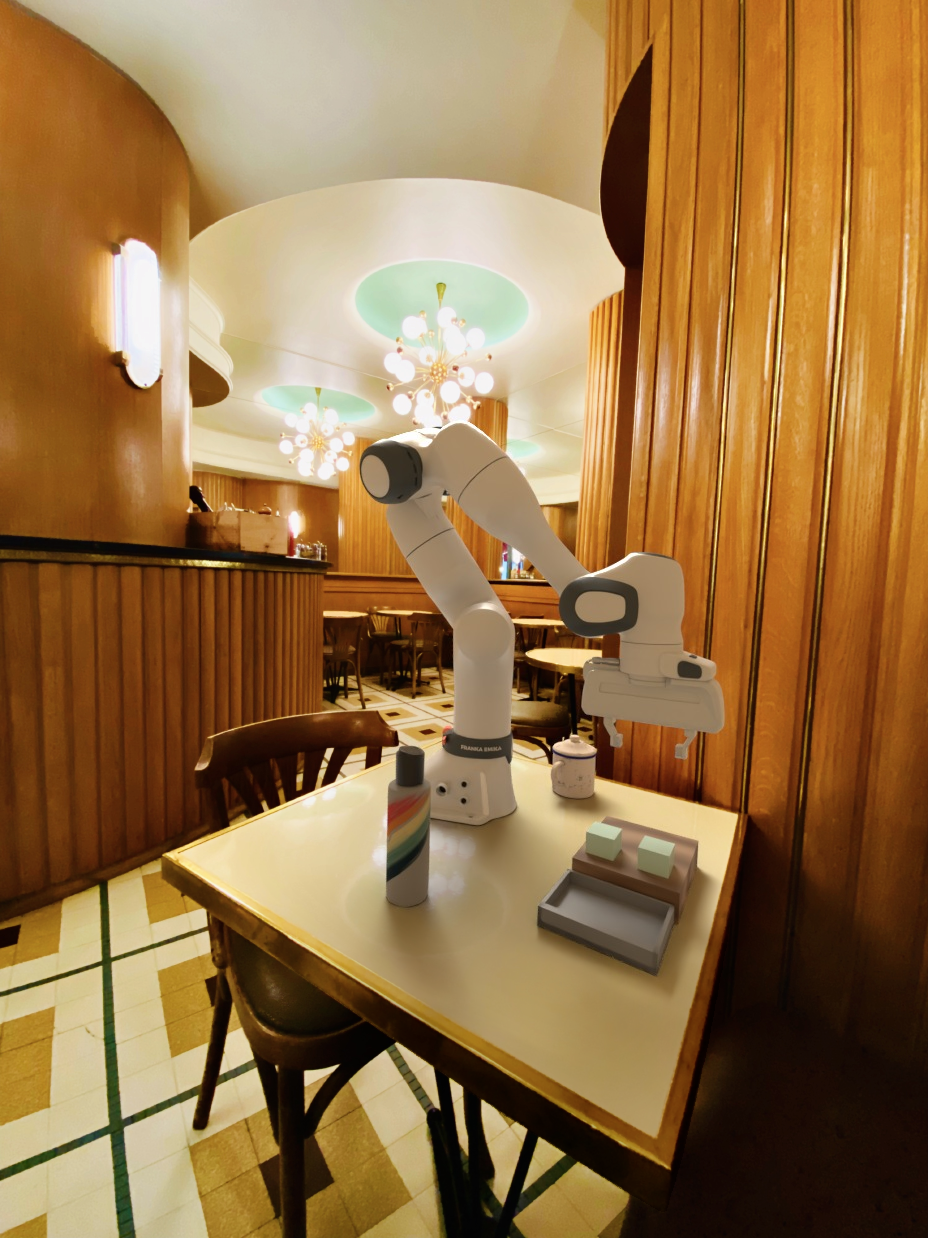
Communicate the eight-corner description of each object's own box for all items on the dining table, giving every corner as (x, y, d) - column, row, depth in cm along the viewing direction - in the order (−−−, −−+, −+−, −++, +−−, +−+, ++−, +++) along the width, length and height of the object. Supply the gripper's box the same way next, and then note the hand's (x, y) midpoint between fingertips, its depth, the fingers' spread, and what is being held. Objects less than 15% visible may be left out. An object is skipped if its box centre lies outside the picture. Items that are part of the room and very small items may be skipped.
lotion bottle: (387, 882, 68) (390, 741, 67) (428, 881, 69) (431, 741, 68) (384, 908, 63) (387, 755, 62) (428, 907, 63) (432, 755, 62)
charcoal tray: (567, 886, 69) (567, 868, 68) (674, 925, 61) (675, 906, 61) (537, 925, 60) (537, 905, 60) (656, 976, 53) (657, 954, 52)
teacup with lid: (566, 779, 109) (568, 727, 108) (603, 792, 102) (605, 736, 101) (533, 793, 100) (535, 737, 100) (570, 808, 94) (573, 748, 93)
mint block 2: (644, 855, 70) (644, 835, 69) (674, 865, 67) (675, 843, 67) (636, 868, 66) (637, 847, 66) (668, 878, 64) (669, 856, 64)
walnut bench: (605, 839, 82) (606, 815, 82) (697, 866, 75) (698, 840, 74) (571, 885, 69) (572, 857, 69) (678, 924, 61) (679, 893, 61)
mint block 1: (594, 840, 73) (595, 821, 73) (621, 849, 71) (622, 829, 71) (585, 852, 70) (586, 831, 70) (613, 861, 68) (614, 840, 68)
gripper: (576, 657, 77) (574, 744, 77) (723, 670, 65) (719, 771, 66) (589, 653, 82) (587, 735, 83) (728, 664, 71) (724, 758, 71)
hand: (647, 751), depth 74 cm, fingers open, 8 cm apart
